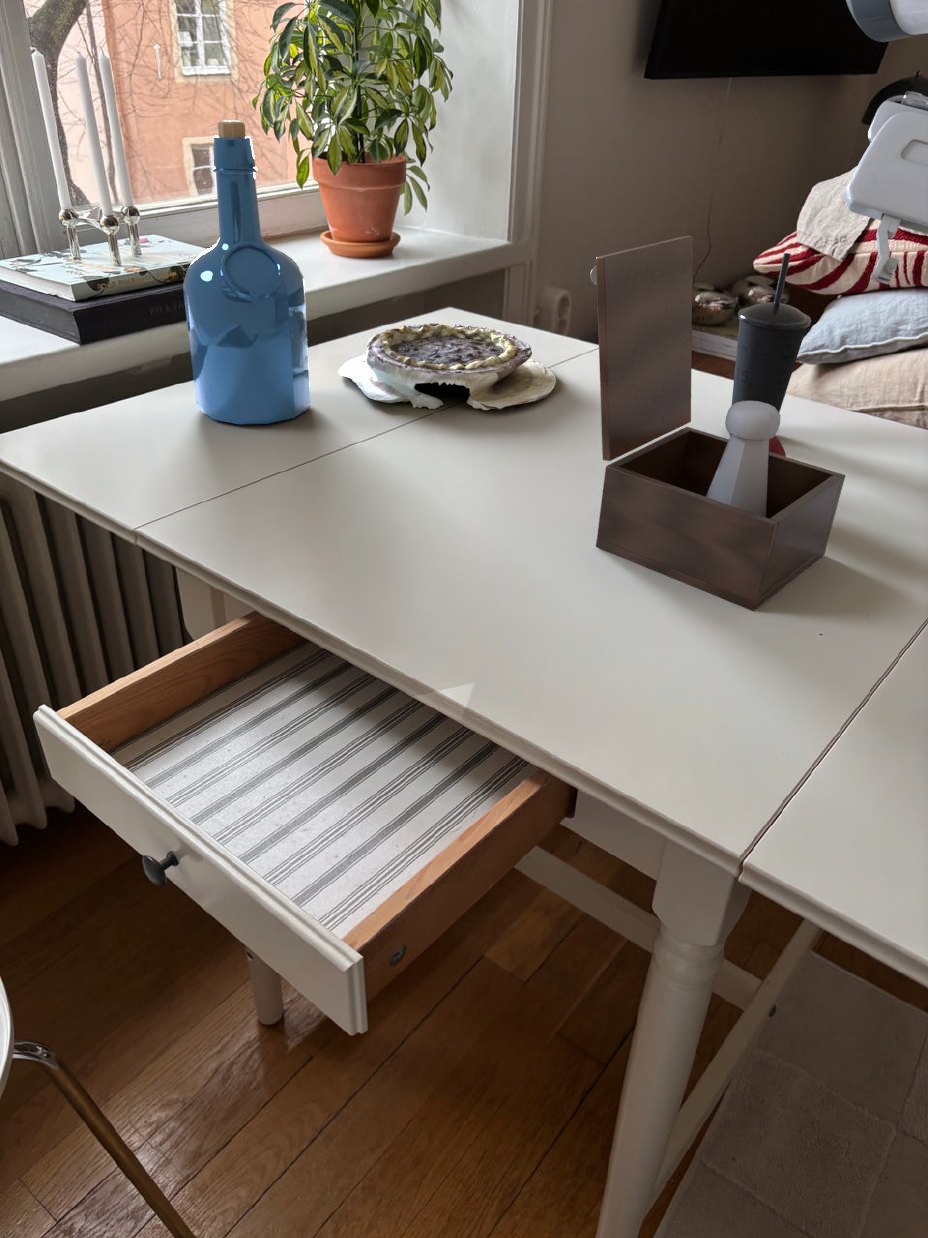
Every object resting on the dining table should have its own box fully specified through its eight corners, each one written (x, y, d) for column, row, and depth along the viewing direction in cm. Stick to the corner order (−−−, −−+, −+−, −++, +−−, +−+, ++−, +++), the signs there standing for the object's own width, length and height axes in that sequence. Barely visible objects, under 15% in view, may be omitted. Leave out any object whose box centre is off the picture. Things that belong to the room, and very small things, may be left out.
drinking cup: (742, 418, 115) (777, 243, 105) (797, 437, 110) (839, 256, 100) (702, 431, 111) (735, 250, 100) (757, 452, 106) (797, 264, 95)
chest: (824, 554, 86) (846, 474, 82) (754, 611, 77) (774, 524, 73) (674, 501, 95) (686, 426, 90) (595, 546, 86) (605, 465, 82)
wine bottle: (188, 395, 115) (153, 114, 99) (296, 384, 120) (279, 114, 104) (209, 436, 104) (174, 129, 88) (327, 422, 109) (314, 128, 93)
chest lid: (693, 235, 83) (649, 236, 86) (604, 256, 74) (558, 257, 77) (691, 421, 90) (650, 417, 93) (610, 461, 81) (567, 455, 84)
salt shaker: (691, 555, 83) (718, 412, 76) (694, 527, 88) (719, 390, 81) (760, 565, 82) (793, 421, 75) (759, 536, 87) (790, 398, 80)
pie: (317, 355, 130) (316, 318, 127) (500, 339, 139) (502, 304, 137) (384, 428, 108) (383, 385, 106) (594, 403, 118) (599, 363, 115)
